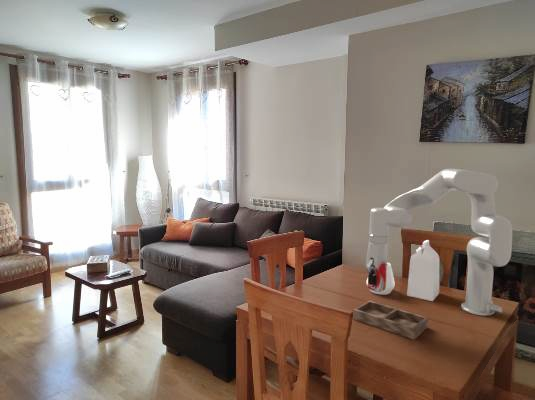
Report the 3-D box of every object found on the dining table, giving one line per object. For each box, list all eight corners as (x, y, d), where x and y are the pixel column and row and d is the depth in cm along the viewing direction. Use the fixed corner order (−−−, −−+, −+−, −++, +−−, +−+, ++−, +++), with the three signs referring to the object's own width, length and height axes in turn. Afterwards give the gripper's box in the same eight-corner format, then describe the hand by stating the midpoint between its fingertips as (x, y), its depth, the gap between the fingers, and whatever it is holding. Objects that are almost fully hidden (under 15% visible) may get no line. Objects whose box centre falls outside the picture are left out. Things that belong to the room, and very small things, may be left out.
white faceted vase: (390, 298, 176) (392, 269, 175) (362, 292, 183) (363, 264, 182) (397, 289, 188) (398, 262, 186) (370, 284, 195) (371, 258, 193)
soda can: (386, 293, 149) (387, 264, 148) (367, 292, 151) (369, 262, 149) (384, 287, 156) (386, 258, 155) (366, 286, 158) (368, 257, 156)
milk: (432, 301, 173) (435, 245, 170) (406, 295, 180) (409, 241, 177) (439, 293, 183) (442, 240, 179) (414, 288, 189) (417, 237, 186)
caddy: (427, 327, 147) (428, 317, 147) (414, 339, 138) (414, 329, 137) (368, 309, 164) (369, 300, 164) (353, 318, 155) (353, 309, 154)
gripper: (380, 234, 160) (378, 275, 162) (359, 241, 147) (357, 285, 149) (397, 237, 154) (395, 279, 157) (377, 244, 142) (375, 290, 144)
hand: (376, 281), depth 153 cm, fingers closed on soda can, 7 cm apart
